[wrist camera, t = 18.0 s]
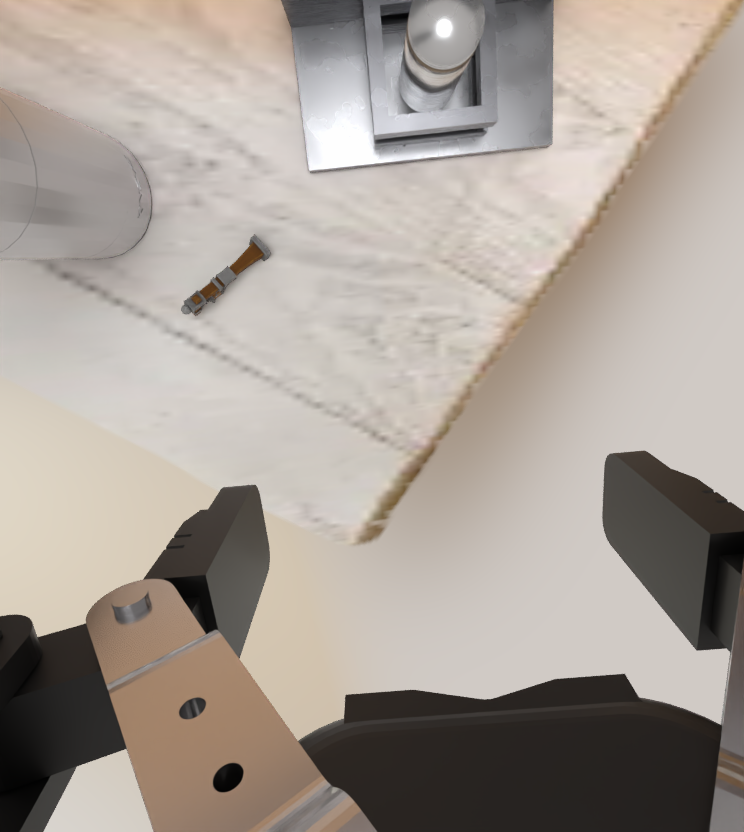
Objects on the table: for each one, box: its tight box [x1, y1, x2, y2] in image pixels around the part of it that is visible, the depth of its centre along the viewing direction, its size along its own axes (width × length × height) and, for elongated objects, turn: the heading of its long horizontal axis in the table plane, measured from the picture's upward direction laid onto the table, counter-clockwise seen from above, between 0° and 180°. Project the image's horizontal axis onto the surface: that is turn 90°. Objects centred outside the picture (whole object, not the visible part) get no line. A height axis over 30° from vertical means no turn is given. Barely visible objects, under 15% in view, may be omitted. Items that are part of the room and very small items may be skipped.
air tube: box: [399, 0, 485, 112], centre depth 31 cm, size 4×4×10 cm
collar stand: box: [281, 0, 553, 173], centre depth 31 cm, size 18×12×12 cm, turn 96°
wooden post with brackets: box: [181, 234, 270, 316], centre depth 40 cm, size 2×8×4 cm, turn 131°
